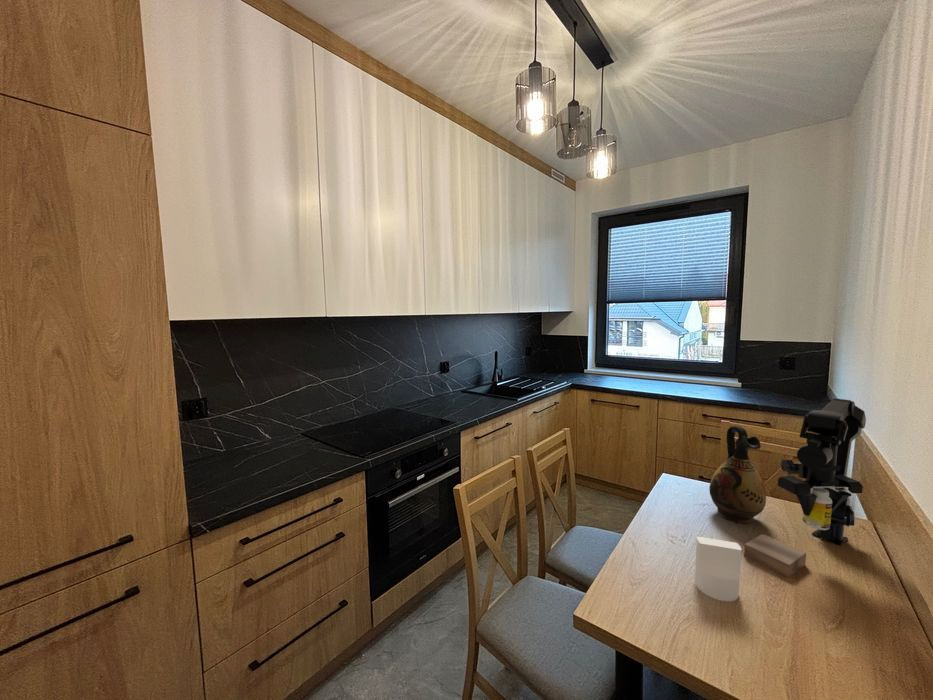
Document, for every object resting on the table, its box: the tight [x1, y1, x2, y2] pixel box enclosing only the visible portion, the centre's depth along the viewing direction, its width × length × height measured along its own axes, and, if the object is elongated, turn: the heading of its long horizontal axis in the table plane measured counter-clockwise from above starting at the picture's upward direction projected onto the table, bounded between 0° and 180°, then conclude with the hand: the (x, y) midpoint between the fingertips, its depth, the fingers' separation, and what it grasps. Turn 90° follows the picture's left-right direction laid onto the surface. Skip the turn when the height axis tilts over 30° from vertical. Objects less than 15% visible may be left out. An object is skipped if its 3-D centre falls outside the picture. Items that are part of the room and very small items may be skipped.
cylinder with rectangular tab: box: [694, 536, 742, 602], centre depth 92 cm, size 9×9×12 cm
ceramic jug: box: [708, 425, 767, 524], centre depth 125 cm, size 17×15×30 cm
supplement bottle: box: [802, 488, 832, 530], centre depth 102 cm, size 6×6×10 cm
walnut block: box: [743, 533, 807, 578], centre depth 103 cm, size 10×10×4 cm
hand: (816, 514), depth 102 cm, fingers closed on supplement bottle, 5 cm apart
